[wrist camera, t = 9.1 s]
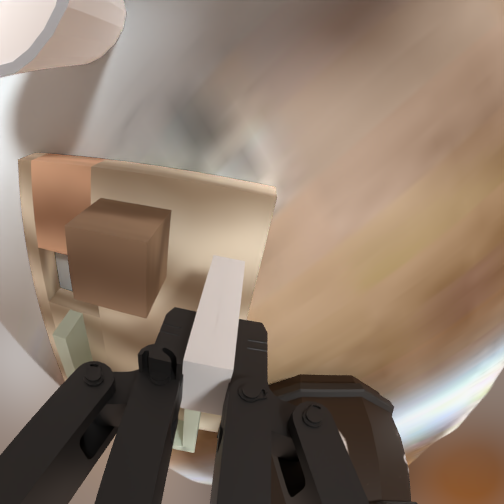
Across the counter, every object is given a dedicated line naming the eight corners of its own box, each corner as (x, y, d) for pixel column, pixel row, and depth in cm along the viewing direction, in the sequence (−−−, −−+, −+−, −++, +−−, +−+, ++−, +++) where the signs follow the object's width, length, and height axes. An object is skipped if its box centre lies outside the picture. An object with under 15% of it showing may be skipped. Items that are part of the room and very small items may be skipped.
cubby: (70, 309, 21) (52, 334, 18) (211, 345, 21) (205, 377, 19) (95, 401, 27) (86, 422, 24) (198, 429, 28) (194, 453, 25)
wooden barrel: (189, 417, 30) (165, 544, 16) (314, 337, 23) (336, 537, 9) (299, 460, 35) (301, 558, 21) (412, 404, 28) (444, 522, 15)
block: (100, 197, 16) (64, 225, 13) (171, 210, 17) (147, 242, 13) (102, 262, 18) (74, 298, 15) (166, 277, 19) (146, 318, 15)
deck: (35, 152, 17) (18, 159, 15) (275, 187, 18) (276, 197, 16) (75, 378, 29) (68, 391, 27) (219, 417, 30) (217, 432, 28)
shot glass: (136, 60, 14) (69, 48, 8) (48, 86, 15) (-27, 97, 8) (137, -33, 11) (81, -75, 5) (49, 1, 11) (-20, -13, 5)
